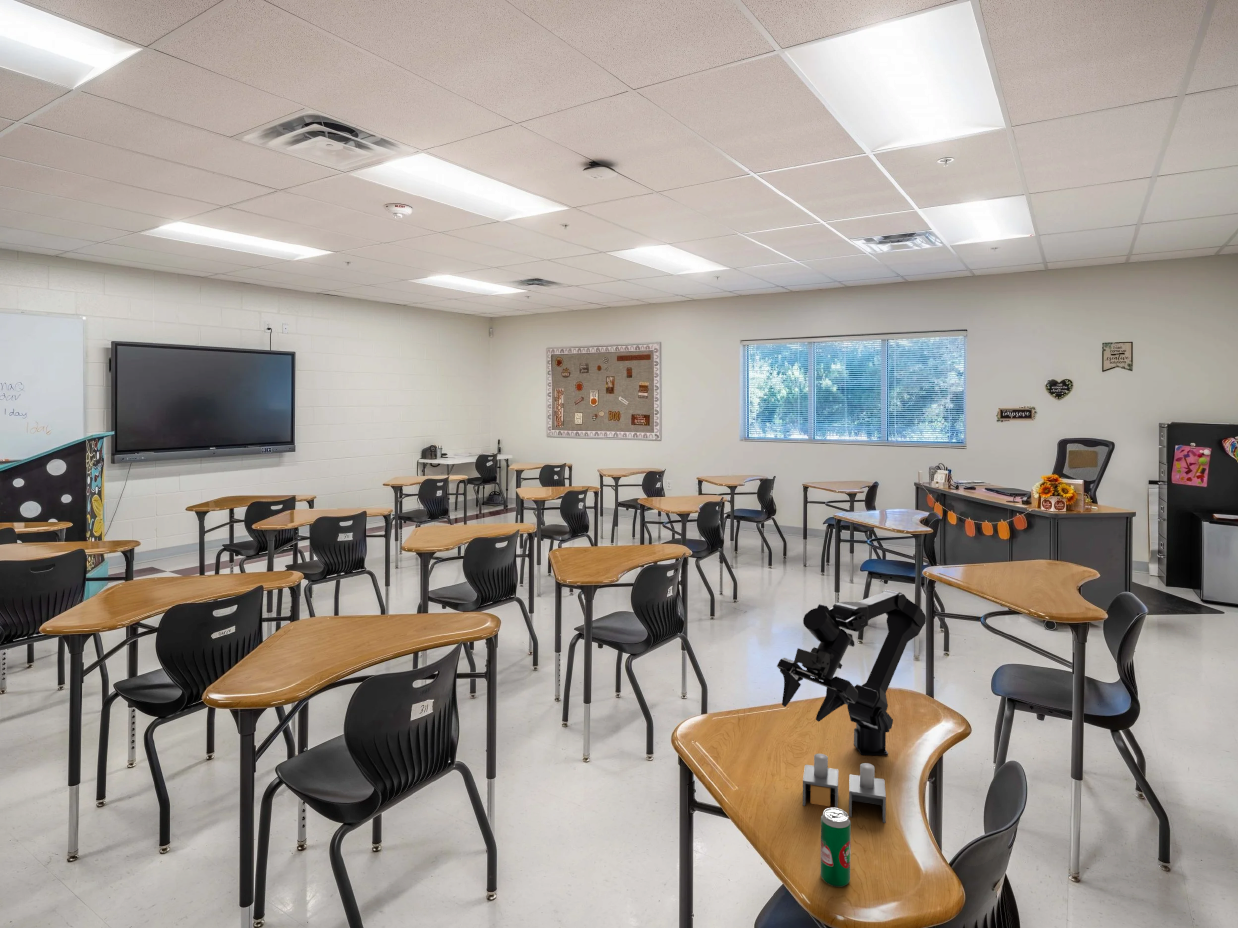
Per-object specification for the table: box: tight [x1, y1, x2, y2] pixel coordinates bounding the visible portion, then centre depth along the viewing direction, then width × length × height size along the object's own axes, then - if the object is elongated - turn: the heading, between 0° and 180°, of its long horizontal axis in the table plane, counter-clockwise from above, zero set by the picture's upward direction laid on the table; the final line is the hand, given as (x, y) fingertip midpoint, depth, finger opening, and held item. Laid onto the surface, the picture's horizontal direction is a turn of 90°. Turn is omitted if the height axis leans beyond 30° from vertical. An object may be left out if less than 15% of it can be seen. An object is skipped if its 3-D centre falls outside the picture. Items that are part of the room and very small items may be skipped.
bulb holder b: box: [802, 753, 839, 809], centre depth 146 cm, size 7×7×10 cm
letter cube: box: [810, 785, 832, 807], centre depth 146 cm, size 4×4×4 cm
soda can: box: [820, 807, 852, 888], centre depth 121 cm, size 5×5×12 cm
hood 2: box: [848, 762, 887, 824], centre depth 142 cm, size 7×7×10 cm
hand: (799, 712), depth 152 cm, fingers open, 9 cm apart
